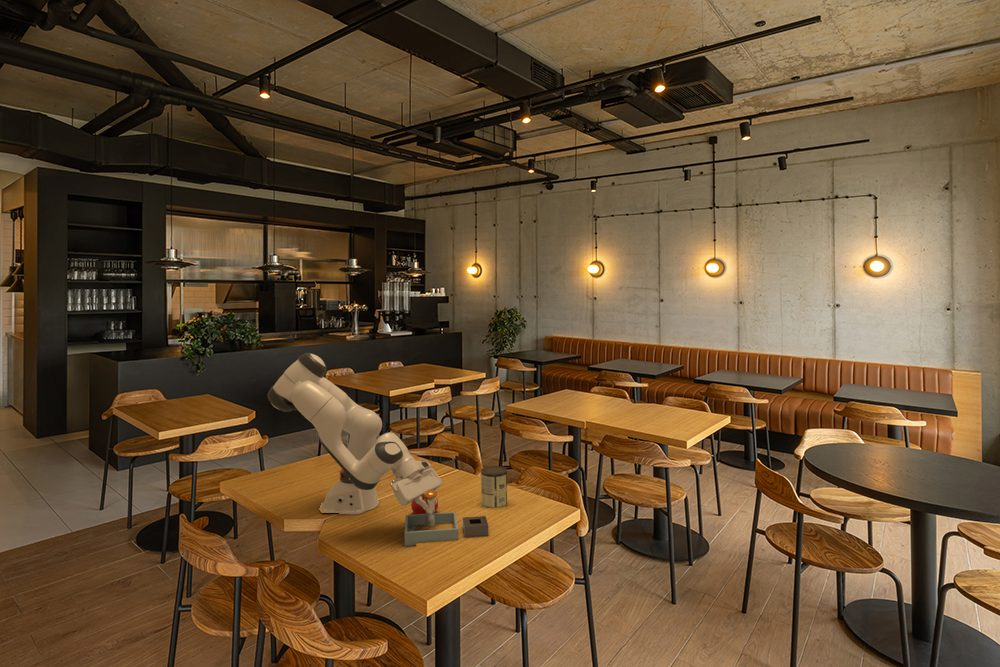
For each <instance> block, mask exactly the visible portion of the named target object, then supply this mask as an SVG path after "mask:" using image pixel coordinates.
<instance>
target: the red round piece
mask: <svg viewBox="0 0 1000 667" xmlns="http://www.w3.org/2000/svg"><path fill="white" fill-rule="evenodd" d="M435 498H436V500H437V501H438V502H437V503H436V504H435V513H437V510H438V508H439V499H438V498H437V497H435ZM422 500H423V501H425V502H426V498H425V497H424V496H423V497H422ZM410 504H411V505H410V506H411V510H412V512H413V515H416V514H426V510H424V509H423V507H422V506H421V505H419V504H417V503H416V502H415V501H413V502H411V503H410Z"/></svg>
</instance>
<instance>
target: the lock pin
mask: <svg viewBox="0 0 1000 667" xmlns="http://www.w3.org/2000/svg"><path fill="white" fill-rule="evenodd" d="M437 494H438V492H437V490H428V491H426V492H424V497H425V498H426V502H428V504H429V505H430V507H429V508H428V509H426V525H425V526H426V527H434V526H435V525H436V524H435V513H436V512H435V498H437V496H438V495H437Z"/></svg>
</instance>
